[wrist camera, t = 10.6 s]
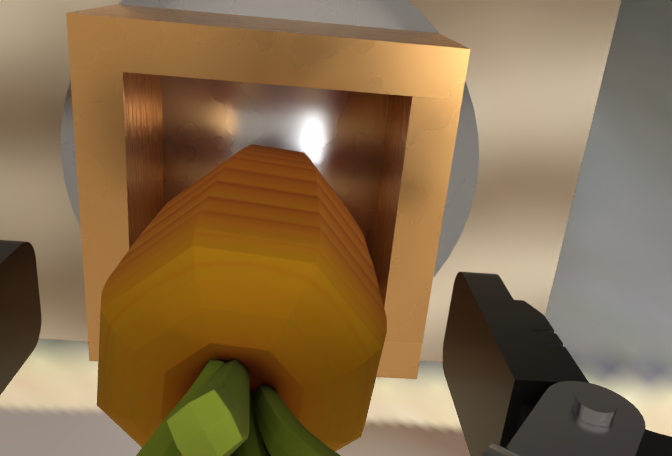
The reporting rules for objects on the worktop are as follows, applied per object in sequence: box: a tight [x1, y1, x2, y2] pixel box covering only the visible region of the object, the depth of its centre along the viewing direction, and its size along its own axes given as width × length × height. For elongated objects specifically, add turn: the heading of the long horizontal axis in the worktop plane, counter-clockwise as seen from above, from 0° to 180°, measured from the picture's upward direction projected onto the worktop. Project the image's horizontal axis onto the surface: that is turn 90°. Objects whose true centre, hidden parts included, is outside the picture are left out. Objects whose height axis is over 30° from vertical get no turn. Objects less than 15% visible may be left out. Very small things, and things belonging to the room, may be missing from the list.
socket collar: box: [61, 0, 479, 379], centre depth 18 cm, size 13×13×5 cm
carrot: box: [97, 144, 387, 456], centre depth 13 cm, size 5×5×15 cm
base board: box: [0, 0, 621, 362], centre depth 21 cm, size 14×20×1 cm
